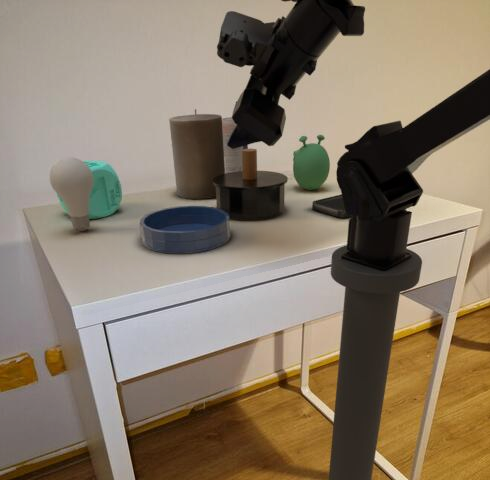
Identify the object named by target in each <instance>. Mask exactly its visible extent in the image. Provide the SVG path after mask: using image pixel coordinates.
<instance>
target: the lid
mask: <svg viewBox="0 0 490 480" xmlns="http://www.w3.org/2000/svg"><path fill="white" fill-rule="evenodd" d="M287 183H288V176H287V175H285V174H283V173H281V172H277V171H269V170H258V150H257V149H256V148H248V149H243V150H242V171H237V172H230V173H225V174H221V175H218V176H216V177H215V178H213V185H215V186H216V187H219V188H222V189H228V190H238V191H254V190H265V189H271V188H276V187H279V186H282V185H284V184H285V185H286V184H287Z"/></svg>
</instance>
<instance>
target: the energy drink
mask: <svg viewBox="0 0 490 480" xmlns="http://www.w3.org/2000/svg"><path fill="white" fill-rule="evenodd" d="M235 125H236V124H235V123H234V121H233V119H232V116H231V117H222V130H223V149H224V166H225V173H230V172H237V171H242V150H243V149H249V145H245V146H242V147H239V148H235V149H232V148H230V147H229V146H227V143H228V140H229V138H230V136H231V134H232V132H233V130H234V128H235Z"/></svg>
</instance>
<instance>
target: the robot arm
mask: <svg viewBox="0 0 490 480" xmlns="http://www.w3.org/2000/svg"><path fill="white" fill-rule="evenodd" d="M281 1H282V2H285V3H286V2H292V3H294V5H293V6H292V8H291V10H290V11H289V12H288V14H287V15H286V16H283V15H282V16H281V18H280V17H278V18H277V19H276V20H275V21H270V22H263V20H260V19H258V18H255V17H252V16H250V15H247V14H244V13H241V12H237V11H234V10H229V11H227V12H226V13H225V16H224V18H223V21H222V23H221V26H220V32H219V38H218V43H217V44H216V50H217V51H216V55H217V56H218V57H219V59H221V60H222V61H223V62H224V63H226V64H229V65H232V66H235V67H238V68H243V67H245V66H247V67H251V69H250V72H249V74H250V75H249V79H248V81H247V83H246V85H245V87H244V89H243V91H242V92H241V94H239V97H238V98H237V101H235V104H234V108H233V111H232V115H231V117H232V119H233V121H234V123H235V124H236V125H235V128H234V130H233V132H232V134H231V136H230V138H229V140H228V143H227V146H229V147H230V148H232V149H235V148H239V147H242V146H245V145H248V146H249V145H252V144H255V143H261V142H262V143H263V144H265V145H267V146H268V147H272V146H273V147H274V146H275V144H276V143H277V142H278V141H280V139H281V138H282V137H283V134H284V128H285V125H286V120H287V115H286V110H285V108H284V107H282V106H281V105H280V104H279V103H280V98H281V95H282V96H283V97H285V98H286V99H287V100H289V101H290V100H291V99H292V98H293V96H294V95H295V94H296V89H297V86H298V83H299V82H300V81H301V80H302V79H303V78H304V76H305V75H306V74H307V75H308V76H311V75H312V74H314V72H315V70H316V68H317V64H318V59H319V58H320V57H321V56H322V55H323V54H324V53H325V51H326V50H327V49H328V48H329V46H330V45H331V44H332V43H333V41H334V40H335V39H336V38H337V36H338V35H339V34H341V36H343V37H362V36H363V35H364V34H365V12H366V7H365V6H364V5H355V4H354V3H353V1H352V0H281ZM488 121H490V68H489V69H487V70H486V71H485V72H483V73H481V74H480V75H479V76H477V77H476V78H474V79H473V80H471V81H469V82H468V83H467V84H466V85H463V87H461V88H460V89H458V90H456V91H455V92H453V93H452V94H451V95H450V96H448V97H446V98H445V99H443V100H442V101H440V102H439V103H437V104H436V105H435V106H433V107H432V108H431V109H428V110H427V111H426V112H425V113H423V114H422V115H420V116H418V117H416V118H415V119H414V120H412V121H411V122H409V123H408V124H407V125H405V126H404V127H403V124H402V121H401V120H395V121H392V122H391V121H390V122H387V123H382V124H377V125H372V127H370V128H369V129H368V130H367V131H366V132H365V133H364V134H363V135H362V136H361V137H360V138H359V139H357V141H355V142H352V143H349V144H345V145H344V149H345V150H347V151H346V152H344V153H343V154H342V155H341V156H340V157H339V159H338V161H337V162H336V166H337V167H336V172H335V173H336V182H337V185H338V188H339V189H340V192H341V194H342V198H343V202H344V207H345V211H346V214H347V215H350V217H349V219H348V224H347V225H348V226H347V239H346V245H347V250H349V251H348V252H346V253H343V254H342V255H341V258H342V259H344V260H347V261H351V262H354V263H357V264H360V265H364V266H367V267H370V268H373V269H377V270H380V271H387V270H389V269H391V268H393V267H395V266H397V265H399V264H400V263H402V262H404V261H406V260H408V259H410V258H411V257H412V254H411V253H408V252H406V249H408V240H409V234H410V228H411V222H412V221H411V220H412V216H413V212H412V211H410V210H407V209H410V208H412V207H415V206H417V205H418V202H419V201H420V199H421V197H422V195H423V194H424V189H423V187H422V186H421V185H420V183H419V182H418V180H417V179H416V178H415V176H414V175H413V174H414V172H416V171H417V170H418V169H419V168H420V167H421V166H422V165H423V163H424V162H425V161H426V160H427V159H428V158H429V157H430V156H431V155H433V154H434V153H436V152H438V151H440V150H441V149H443V148H444V147H446V146H447V145H449V144H451V143H452V142H454V141H456V140H458V139H460V138H461V137H463V136H464V135H466V134H468V133H469V132H471V131H473V130H475V129H476V128H478V127H479V126H482V125H483V124H485V123H487V122H488Z"/></svg>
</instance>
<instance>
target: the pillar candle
mask: <svg viewBox="0 0 490 480" xmlns="http://www.w3.org/2000/svg"><path fill="white" fill-rule="evenodd" d="M222 119H223V116H222V115H221V114H215V113H212V114H211V113H198V114H197V109H196V108H195V109H194V114H187V115H185V114H184V115H177V116H172V117H170V118H169V119H168V121H169V131H170V140H171V148H172V149H171V150H172V159H173V170H174V176H175V186H176V194H177V196H178V197H180V198H182V199H191V200H199V199H202V200H203V199H213V198H216V186H215V185H213V178H215V177H216V176H218V175H221V174H225V166H224V149H223V130H222Z"/></svg>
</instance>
